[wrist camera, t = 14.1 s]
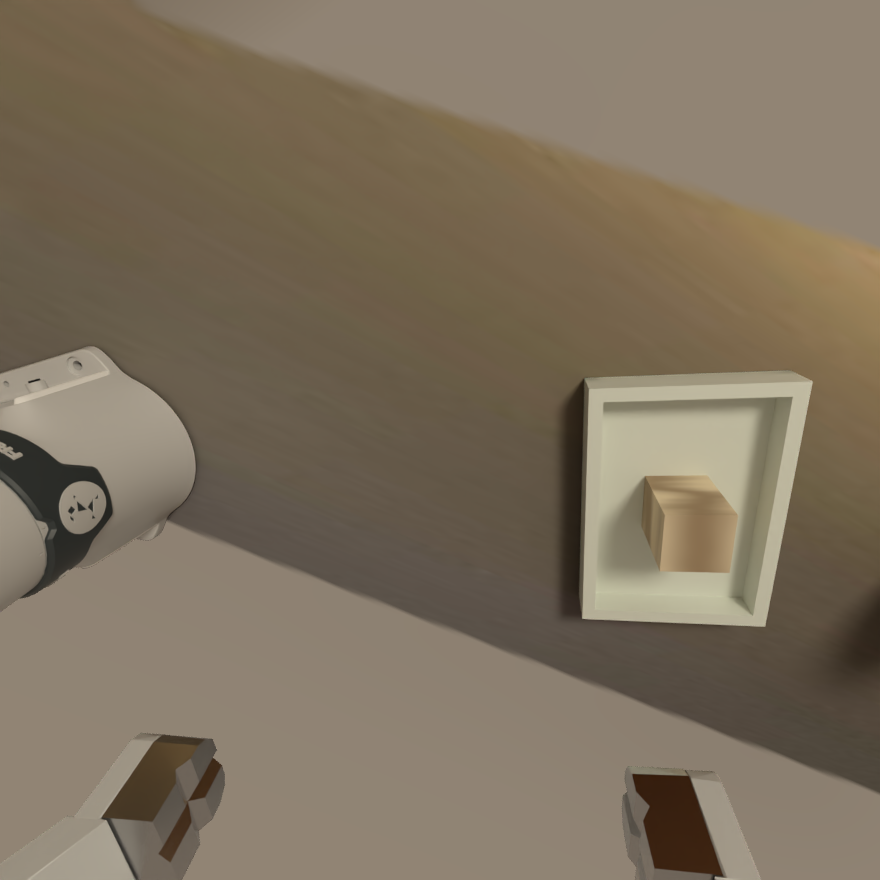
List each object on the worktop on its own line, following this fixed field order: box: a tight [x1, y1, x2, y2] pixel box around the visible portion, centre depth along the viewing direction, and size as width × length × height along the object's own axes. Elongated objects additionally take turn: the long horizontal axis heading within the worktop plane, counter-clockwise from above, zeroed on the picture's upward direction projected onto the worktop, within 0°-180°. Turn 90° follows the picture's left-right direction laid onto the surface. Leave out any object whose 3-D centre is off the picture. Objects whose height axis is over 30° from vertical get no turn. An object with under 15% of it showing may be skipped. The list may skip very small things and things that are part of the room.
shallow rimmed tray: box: [579, 370, 813, 627], centre depth 39 cm, size 14×20×3 cm
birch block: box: [641, 475, 738, 573], centre depth 37 cm, size 4×4×6 cm
